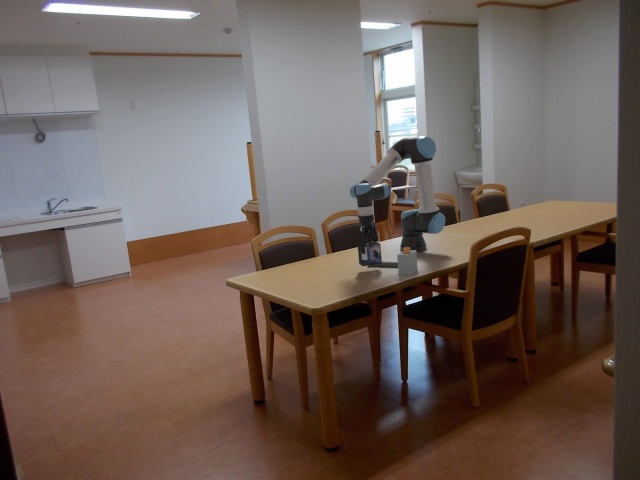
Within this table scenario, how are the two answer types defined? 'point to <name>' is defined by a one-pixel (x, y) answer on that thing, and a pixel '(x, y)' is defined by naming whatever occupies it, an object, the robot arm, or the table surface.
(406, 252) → the button
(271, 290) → the table surface
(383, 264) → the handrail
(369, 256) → the small box
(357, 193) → the robot arm
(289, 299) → the table surface
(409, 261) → the end cabinet
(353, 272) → the table surface
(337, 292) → the table surface
